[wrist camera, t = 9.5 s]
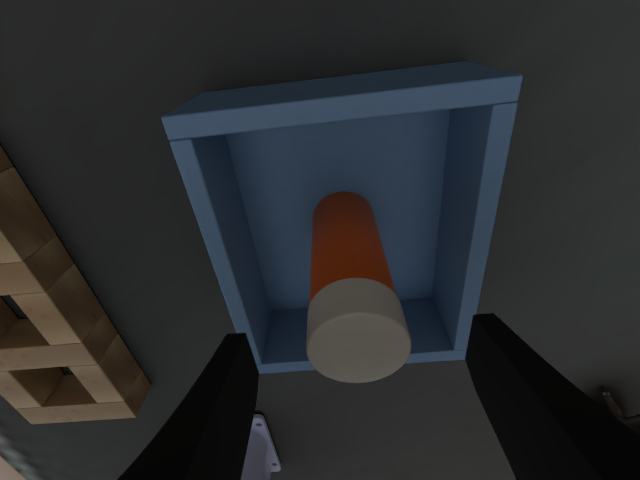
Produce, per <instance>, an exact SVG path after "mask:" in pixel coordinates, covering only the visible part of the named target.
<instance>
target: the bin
mask: <svg viewBox="0 0 640 480" xmlns="http://www.w3.org/2000/svg"><path fill="white" fill-rule="evenodd" d="M522 78H523V77H522V75H520V74H516V73H512V72H508V71H504V70H500V69H496V68H492V67H489V66H485V65H481V64H477V63H473V62H469V61H463V62H455V63H447V64H438V65H430V66H421V67H413V68H405V69H396V70H388V71H380V72H371V73H363V74H355V75H346V76H338V77H329V78H321V79H313V80H304V81H296V82H288V83H279V84H271V85H263V86H254V87H246V88H237V89H229V90H221V91H212V92H204V93H201V94H199V95H198V96H196V97H194V98H193V99H191V100H189V101H188V102H186V103H184V104H183V105H181V106H179V107H178V108H176V109H174V110H172V111H171V112H169V113H167V114H166V115H164V116H162V117H161V120H162V122H163V125H164V128H165V131H166V134H167V137H168V139H169V140H171V141H170V145H171V148H172V151H173V154H174V157H175V159H176V162H177V165H178V168H179V171H180V174H181V177H182V179H183V182H184V185H185V188H186V191H187V194H188V196H189V199H190V202H191V205H192V208H193V211H194V214H195V216H196V219H197V222H198V225H199V228H200V231H201V233H202V236H203V239H204V242H205V245H206V248H207V251H208V253H209V256H210V259H211V262H212V265H213V268H214V270H215V273H216V276H217V279H218V282H219V285H220V288H221V290H222V293H223V296H224V299H225V302H226V305H227V307H228V310H229V313H230V316H231V319H232V322H233V325H234V327H235V330H236V333H246V335H247V338H248V341H249V344H250V347H251V350H252V353H253V356H254V359H255V362H256V365H257V368H258V371H259V374H263V373H278V372H292V371H306V370H316V369H315V368H314V367H313V366H312V364H311V363H310V361H309V359H308V356H307V352H306V340H307V316H308V308H309V300H310V273H311V245H312V218H313V212H314V210H315V208H316V206H317V205H318V203H319V202H320V201H321V200H322V199H324V198H325V197H327V196H328V195H330V194H333V193H336V192H352V193H355V194H358V195H360V196H362V197H363V198H364V199H365V200H367V202H368V203H369V204H370V206H371V208H372V210H373V213H374V217H375V220H376V224H377V227H378V231H379V235H380V238H381V242H382V245H383V249H384V252H385V256H386V259H387V263H388V266H389V270H390V273H391V277H392V280H393V284H394V287H395V291H396V294H397V297H398V298H399V301H400V303H401V307H402V310H403V313H404V317H405V320H406V324H407V327H408V331H409V334H410V338H411V352H410V355H409V357H408V359H407V361H406V362H405V363H404V364H407V363H421V362H435V361H450V360H464V359H465V356H466V350H467V345H468V340H469V334H470V329H471V324H472V319H473V315H476V312H477V307H478V302H479V297H480V292H481V287H482V282H483V277H484V272H485V267H486V262H487V257H488V252H489V247H490V242H491V237H492V232H493V227H494V221H495V216H496V211H497V206H498V201H499V196H500V191H501V186H502V181H503V176H504V171H505V166H506V161H507V156H508V151H509V146H510V141H511V136H512V131H513V125H514V120H515V115H516V110H517V105H518V103H517V102H516V101H518V98H519V93H520V88H521V83H522Z"/></svg>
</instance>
